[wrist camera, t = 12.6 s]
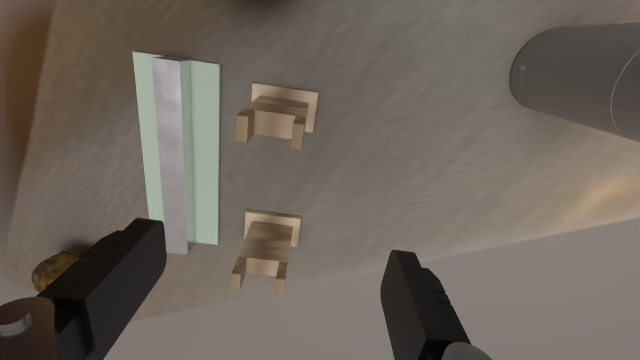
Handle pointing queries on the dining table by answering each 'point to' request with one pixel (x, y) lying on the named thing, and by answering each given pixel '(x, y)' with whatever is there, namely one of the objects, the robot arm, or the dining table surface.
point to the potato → (52, 269)
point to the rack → (265, 227)
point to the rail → (175, 150)
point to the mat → (204, 142)
